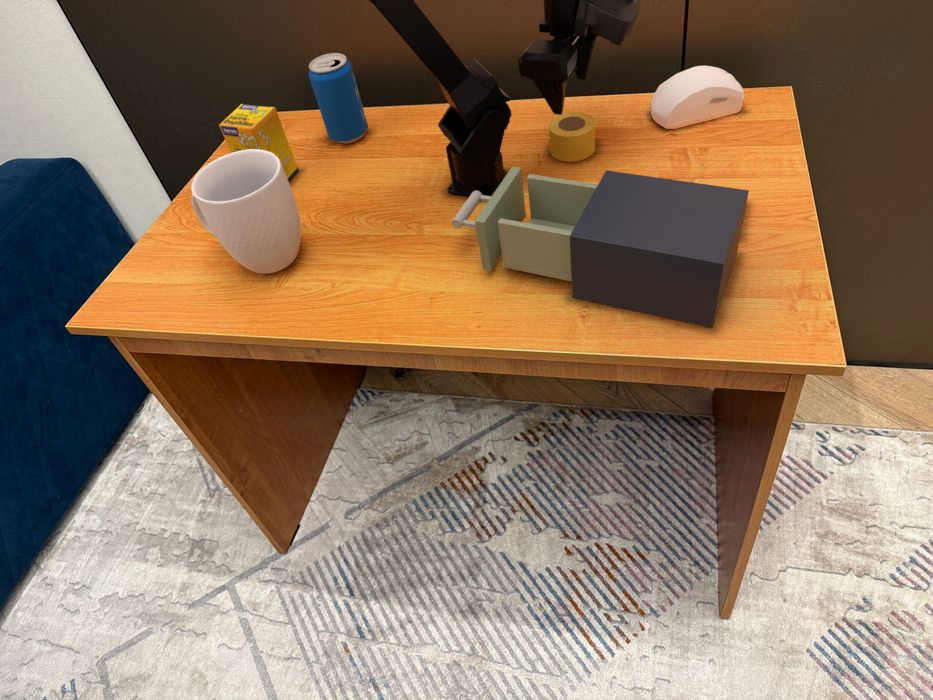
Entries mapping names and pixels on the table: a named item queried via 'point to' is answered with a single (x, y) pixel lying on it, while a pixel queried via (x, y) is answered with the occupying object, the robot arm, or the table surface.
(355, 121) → the beverage can
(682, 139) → the table surface
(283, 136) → the supplement box
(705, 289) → the cabinet
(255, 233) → the mug
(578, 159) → the tape
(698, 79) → the computer mouse
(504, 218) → the drawer
